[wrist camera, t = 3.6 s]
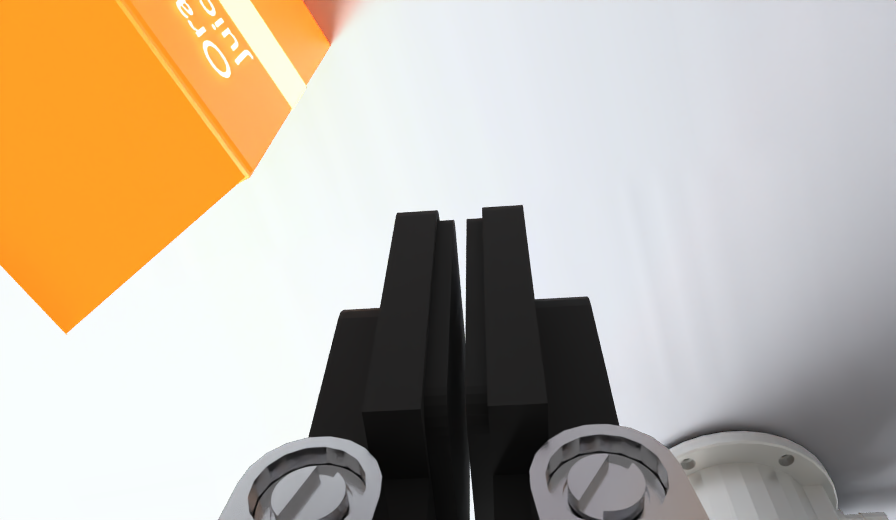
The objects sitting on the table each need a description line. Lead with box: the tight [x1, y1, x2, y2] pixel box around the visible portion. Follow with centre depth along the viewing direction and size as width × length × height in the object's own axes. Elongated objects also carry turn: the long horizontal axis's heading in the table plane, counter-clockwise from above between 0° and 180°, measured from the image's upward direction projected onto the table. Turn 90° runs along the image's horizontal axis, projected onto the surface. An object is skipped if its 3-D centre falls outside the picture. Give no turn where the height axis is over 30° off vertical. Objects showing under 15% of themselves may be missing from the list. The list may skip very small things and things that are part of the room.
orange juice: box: [0, 0, 331, 335], centre depth 26 cm, size 8×9×20 cm
